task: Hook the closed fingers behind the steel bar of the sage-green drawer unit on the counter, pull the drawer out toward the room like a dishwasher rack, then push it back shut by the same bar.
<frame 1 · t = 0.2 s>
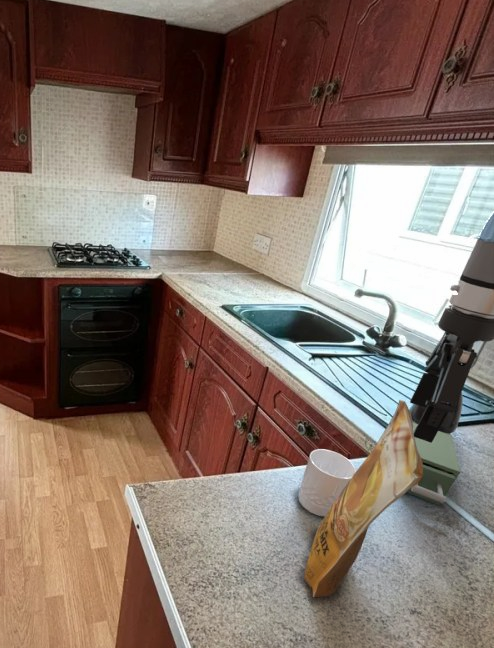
hand: (419, 420, 74), 18 cm above the countertop, tool pointing down, fingers open, 13 cm apart
white cup: (315, 504, 78), on the countertop
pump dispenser: (424, 433, 104), on the countertop
drawer: (423, 472, 83), point 4 cm above the countertop, slide at 0.5 cm
pancake mix bag: (329, 564, 66), on the countertop
cabinet: (414, 475, 88), on the countertop
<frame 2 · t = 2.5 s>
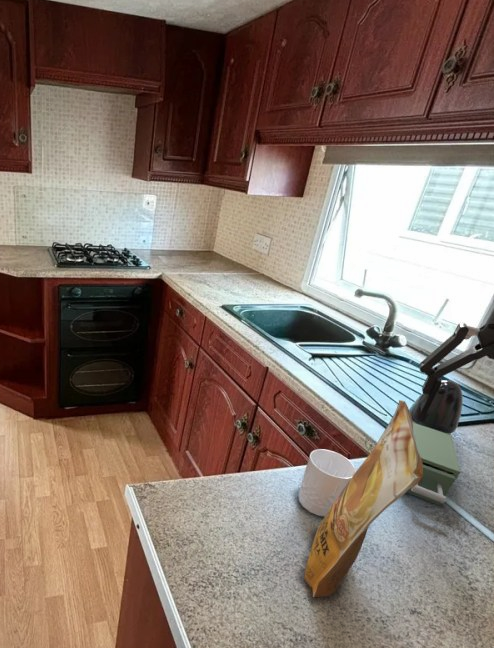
hand: (463, 422, 71), 20 cm above the countertop, tool pointing down, fingers open, 11 cm apart
nothing on the countertop moved.
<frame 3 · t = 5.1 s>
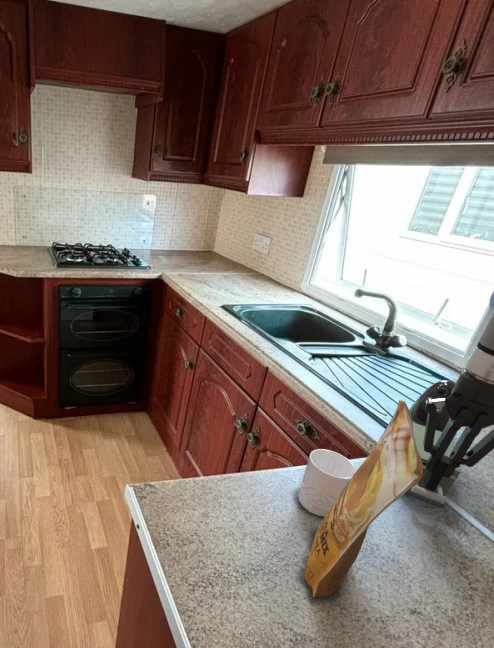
hand: (428, 485, 76), 6 cm above the countertop, tool pointing down, fingers closed
drawer: (423, 472, 83), point 4 cm above the countertop, slide at 0.7 cm, touching gripper
everything else where it was.
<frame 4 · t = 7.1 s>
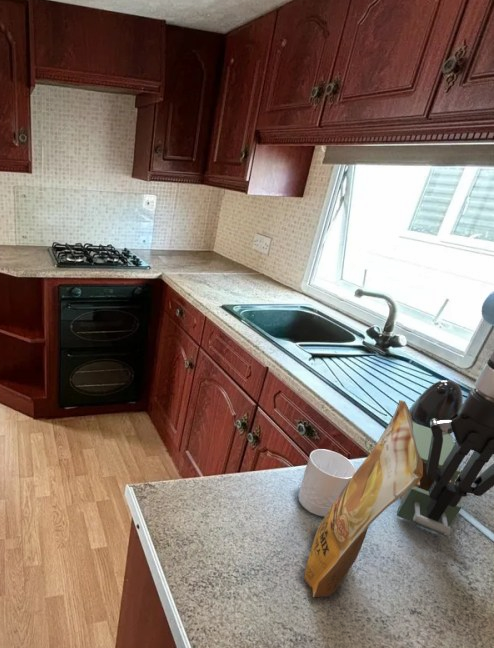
hand: (432, 514, 70), 6 cm above the countertop, tool pointing down, fingers closed
drawer: (426, 497, 76), point 4 cm above the countertop, slide at 9.2 cm, touching gripper
everything else where it was.
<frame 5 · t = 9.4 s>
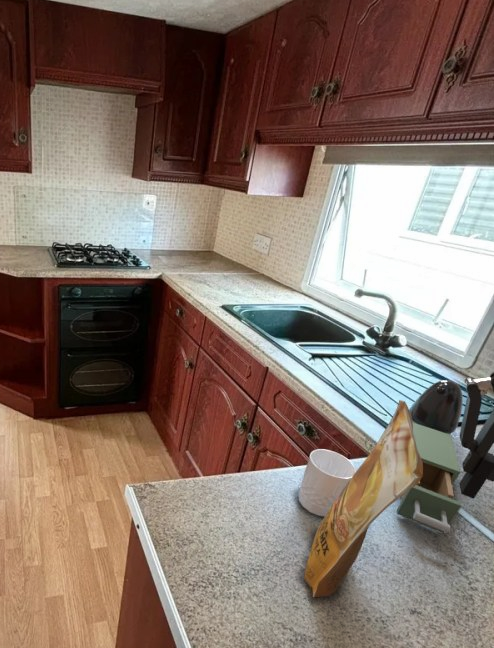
hand: (466, 490, 60), 17 cm above the countertop, tool pointing down, fingers closed
drawer: (426, 496, 76), point 4 cm above the countertop, slide at 8.7 cm
everything else where it was.
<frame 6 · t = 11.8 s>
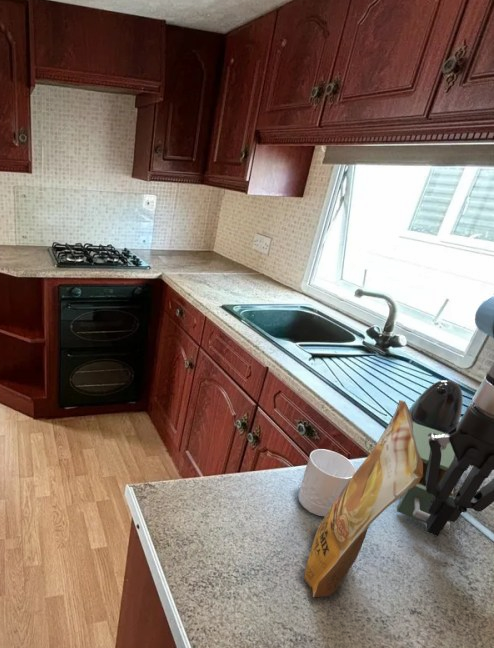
hand: (431, 528, 68), 5 cm above the countertop, tool pointing down, fingers closed
drawer: (425, 493, 77), point 4 cm above the countertop, slide at 7.9 cm, touching gripper
everything else where it was.
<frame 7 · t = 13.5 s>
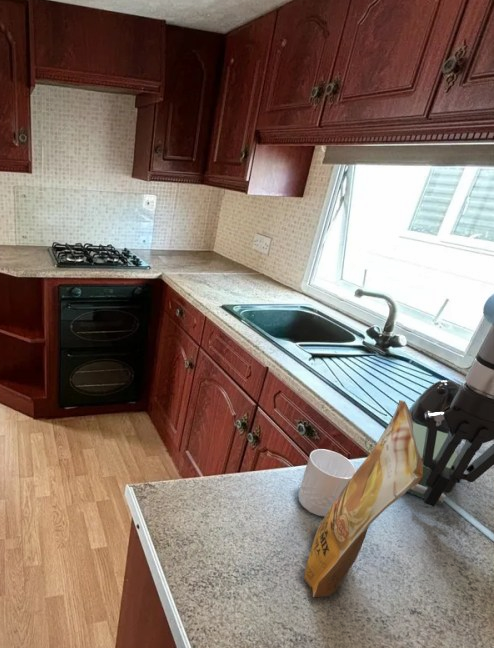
hand: (428, 500, 75), 5 cm above the countertop, tool pointing down, fingers closed
drawer: (423, 470, 83), point 4 cm above the countertop, slide at 0.0 cm, touching cabinet, gripper
everything else where it was.
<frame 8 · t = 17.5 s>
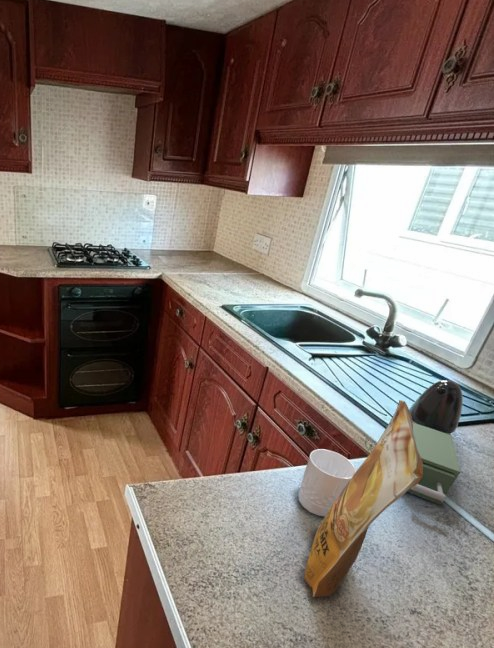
drawer: (423, 470, 83), point 4 cm above the countertop, slide at 0.0 cm, touching cabinet
everything else where it was.
at the end: drawer pulled out 9.2 cm at the most during the clip, back to where it started at the end; drawer slide at 0.0 cm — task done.
